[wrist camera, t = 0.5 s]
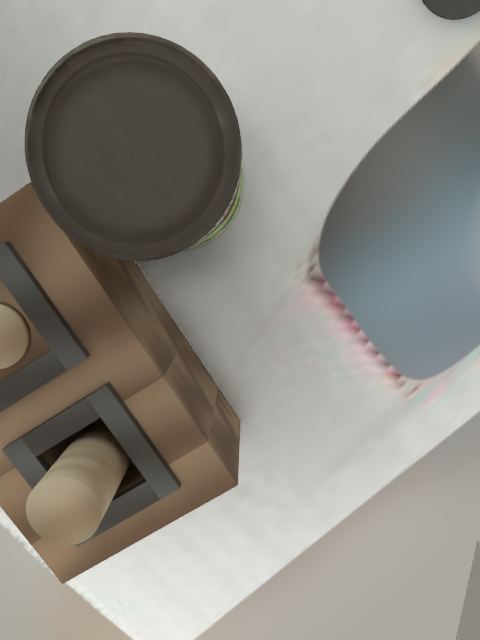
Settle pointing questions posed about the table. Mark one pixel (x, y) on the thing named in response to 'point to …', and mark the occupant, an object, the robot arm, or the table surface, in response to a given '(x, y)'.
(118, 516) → the socket block
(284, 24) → the table surface
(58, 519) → the dowel
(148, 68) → the coffee can
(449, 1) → the bottle
